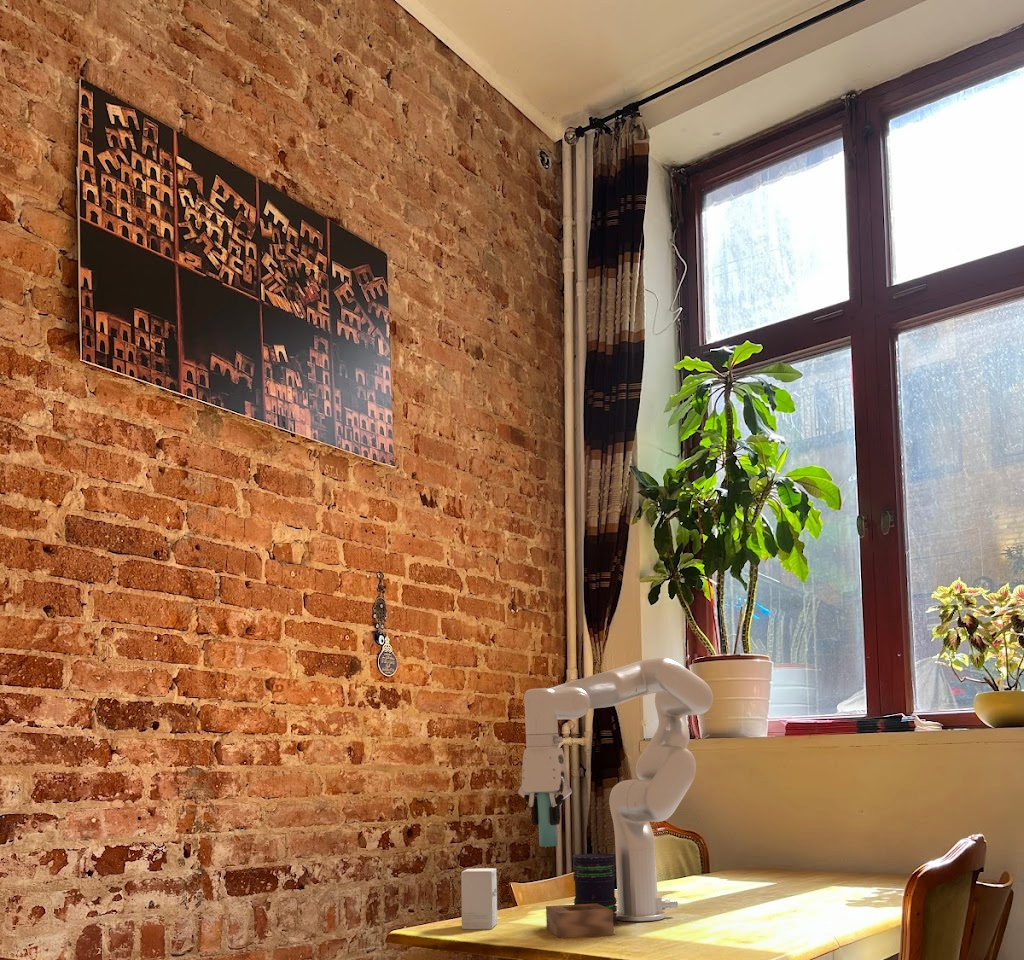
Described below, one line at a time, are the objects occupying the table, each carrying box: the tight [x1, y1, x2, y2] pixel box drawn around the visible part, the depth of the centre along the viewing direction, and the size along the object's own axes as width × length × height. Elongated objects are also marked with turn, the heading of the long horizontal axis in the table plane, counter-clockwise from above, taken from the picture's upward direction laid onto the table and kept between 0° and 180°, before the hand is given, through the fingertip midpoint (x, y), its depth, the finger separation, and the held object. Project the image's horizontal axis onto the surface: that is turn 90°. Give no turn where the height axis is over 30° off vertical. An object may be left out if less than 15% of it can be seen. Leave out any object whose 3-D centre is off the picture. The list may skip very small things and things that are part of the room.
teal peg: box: [537, 793, 558, 848], centre depth 259 cm, size 4×4×14 cm
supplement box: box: [460, 867, 498, 930], centre depth 261 cm, size 7×7×13 cm
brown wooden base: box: [545, 903, 615, 939], centre depth 250 cm, size 12×12×5 cm
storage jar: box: [572, 853, 618, 926], centre depth 263 cm, size 10×10×15 cm
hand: (546, 823), depth 258 cm, fingers closed on teal peg, 4 cm apart
